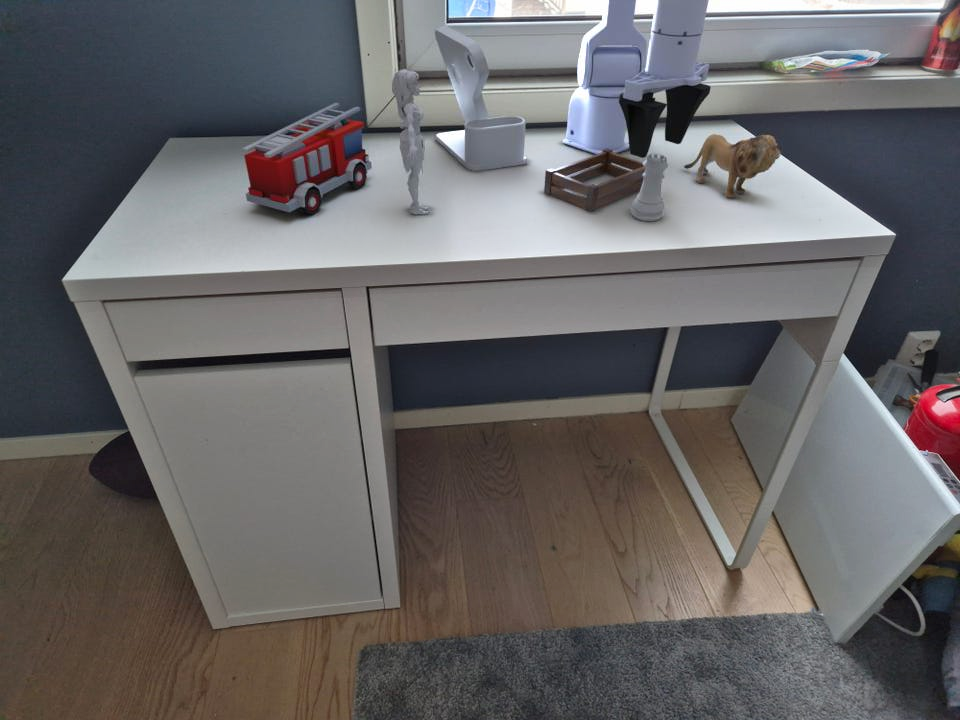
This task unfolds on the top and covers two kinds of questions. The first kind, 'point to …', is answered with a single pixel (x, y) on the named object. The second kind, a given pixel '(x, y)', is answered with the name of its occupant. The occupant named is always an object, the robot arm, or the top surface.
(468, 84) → the phone holder
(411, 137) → the human figurine
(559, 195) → the crate
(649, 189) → the rook chess piece
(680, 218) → the top surface
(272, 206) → the toy fire truck
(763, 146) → the lion figurine
